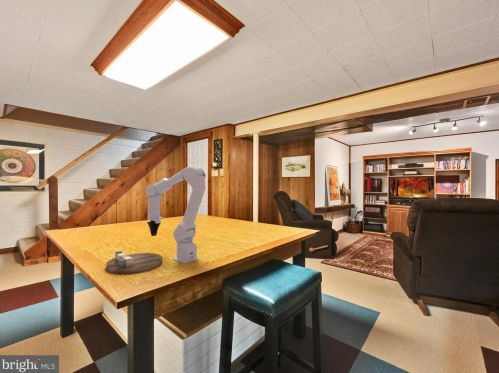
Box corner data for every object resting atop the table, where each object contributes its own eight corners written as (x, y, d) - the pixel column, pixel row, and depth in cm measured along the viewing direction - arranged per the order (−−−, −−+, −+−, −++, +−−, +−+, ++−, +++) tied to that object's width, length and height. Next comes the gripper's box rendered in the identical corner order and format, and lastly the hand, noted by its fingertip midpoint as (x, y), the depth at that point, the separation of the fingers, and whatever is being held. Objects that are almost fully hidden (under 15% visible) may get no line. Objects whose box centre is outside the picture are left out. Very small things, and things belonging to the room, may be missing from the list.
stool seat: (171, 264, 105) (171, 252, 105) (118, 278, 88) (119, 265, 88) (147, 254, 119) (147, 244, 119) (98, 265, 102) (98, 253, 102)
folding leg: (114, 259, 103) (114, 251, 103) (120, 258, 105) (121, 250, 105) (126, 267, 94) (126, 258, 94) (133, 265, 96) (133, 257, 96)
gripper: (166, 209, 116) (166, 237, 116) (157, 207, 127) (157, 232, 127) (152, 210, 111) (151, 239, 112) (143, 208, 123) (143, 233, 123)
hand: (153, 235), depth 119 cm, fingers closed
